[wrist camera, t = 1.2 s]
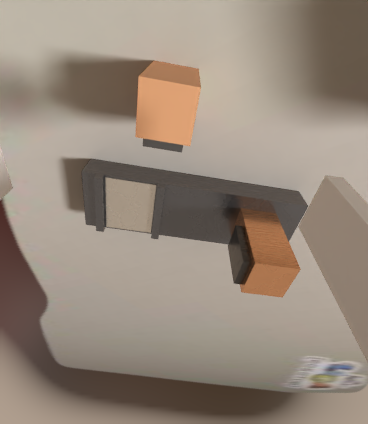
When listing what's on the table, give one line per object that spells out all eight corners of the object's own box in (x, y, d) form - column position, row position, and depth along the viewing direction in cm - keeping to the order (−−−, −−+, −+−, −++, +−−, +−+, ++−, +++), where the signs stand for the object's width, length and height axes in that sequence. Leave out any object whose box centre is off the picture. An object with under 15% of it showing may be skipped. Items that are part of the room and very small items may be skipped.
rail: (90, 158, 29) (45, 220, 20) (298, 191, 30) (342, 262, 21) (93, 209, 33) (57, 279, 24) (276, 235, 34) (305, 310, 26)
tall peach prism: (198, 68, 23) (200, 87, 17) (189, 122, 26) (188, 156, 19) (153, 60, 23) (138, 75, 16) (149, 115, 26) (134, 147, 19)
